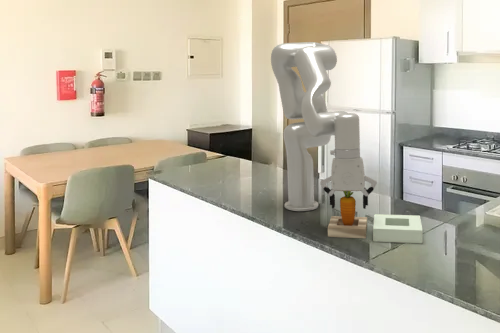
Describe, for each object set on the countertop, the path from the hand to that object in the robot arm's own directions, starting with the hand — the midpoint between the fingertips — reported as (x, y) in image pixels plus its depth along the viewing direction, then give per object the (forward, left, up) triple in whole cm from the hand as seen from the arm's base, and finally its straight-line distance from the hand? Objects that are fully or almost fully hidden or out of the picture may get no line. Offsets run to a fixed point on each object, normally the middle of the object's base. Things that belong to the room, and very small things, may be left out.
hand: (348, 207), depth 161 cm
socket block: (-1, 0, -8) cm, 8 cm away
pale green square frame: (0, +15, -8) cm, 17 cm away
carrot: (-1, 0, -8) cm, 8 cm away
